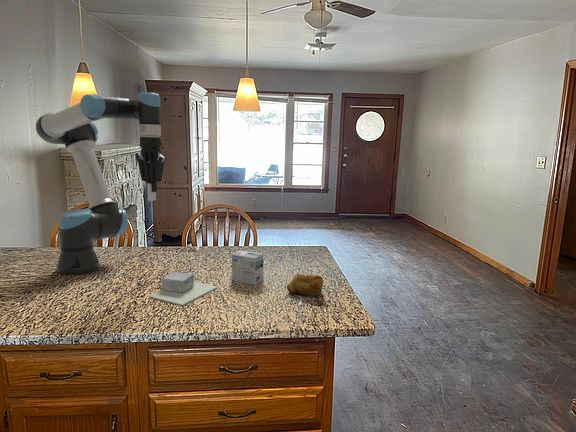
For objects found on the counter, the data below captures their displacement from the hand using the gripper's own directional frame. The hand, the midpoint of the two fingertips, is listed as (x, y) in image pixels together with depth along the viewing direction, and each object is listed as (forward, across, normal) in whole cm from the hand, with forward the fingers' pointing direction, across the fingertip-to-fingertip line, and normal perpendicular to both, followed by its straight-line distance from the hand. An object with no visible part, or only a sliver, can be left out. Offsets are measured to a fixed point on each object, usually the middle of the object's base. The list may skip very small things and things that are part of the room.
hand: (151, 200), depth 155 cm
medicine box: (+27, +13, -8) cm, 31 cm away
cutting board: (+29, +22, -8) cm, 38 cm away
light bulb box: (+30, +34, +14) cm, 47 cm away
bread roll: (+30, +58, +14) cm, 67 cm away
